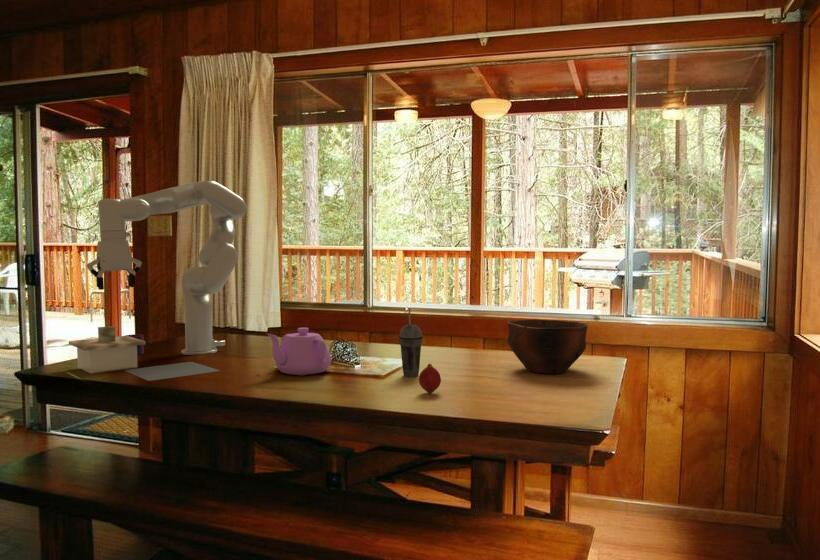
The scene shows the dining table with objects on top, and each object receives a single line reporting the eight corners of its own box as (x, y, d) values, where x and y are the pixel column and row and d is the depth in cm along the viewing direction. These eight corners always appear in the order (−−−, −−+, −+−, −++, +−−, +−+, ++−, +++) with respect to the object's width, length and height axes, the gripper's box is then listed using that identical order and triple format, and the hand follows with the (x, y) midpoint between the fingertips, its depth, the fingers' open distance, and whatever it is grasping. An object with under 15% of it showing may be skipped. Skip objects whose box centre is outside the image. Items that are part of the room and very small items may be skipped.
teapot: (247, 373, 199) (246, 329, 198) (303, 364, 215) (303, 322, 214) (290, 383, 184) (290, 335, 183) (348, 372, 200) (347, 328, 199)
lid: (126, 338, 220) (126, 322, 220) (145, 344, 207) (145, 327, 206) (68, 344, 208) (68, 327, 208) (84, 350, 195) (84, 332, 195)
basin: (123, 363, 218) (122, 339, 217) (137, 369, 207) (136, 344, 207) (77, 368, 209) (77, 344, 208) (90, 375, 198) (89, 349, 198)
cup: (147, 353, 239) (147, 334, 239) (126, 357, 230) (126, 338, 230) (134, 352, 242) (133, 333, 241) (112, 356, 233) (111, 337, 232)
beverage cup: (426, 374, 197) (425, 308, 195) (418, 378, 190) (418, 310, 189) (403, 372, 199) (403, 307, 198) (395, 377, 192) (394, 310, 191)
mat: (191, 363, 217) (191, 361, 217) (220, 372, 201) (220, 370, 201) (123, 372, 203) (123, 370, 203) (148, 382, 186) (148, 380, 186)
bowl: (594, 366, 207) (594, 319, 206) (580, 381, 184) (580, 328, 184) (518, 361, 217) (518, 316, 217) (496, 374, 195) (496, 324, 194)
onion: (418, 391, 173) (417, 361, 173) (439, 390, 174) (439, 361, 173) (420, 396, 168) (419, 365, 167) (442, 395, 168) (442, 365, 168)
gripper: (135, 235, 222) (138, 285, 223) (81, 237, 210) (84, 289, 211) (143, 235, 216) (147, 286, 217) (88, 237, 204) (92, 291, 206)
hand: (116, 288), depth 214 cm, fingers open, 9 cm apart
